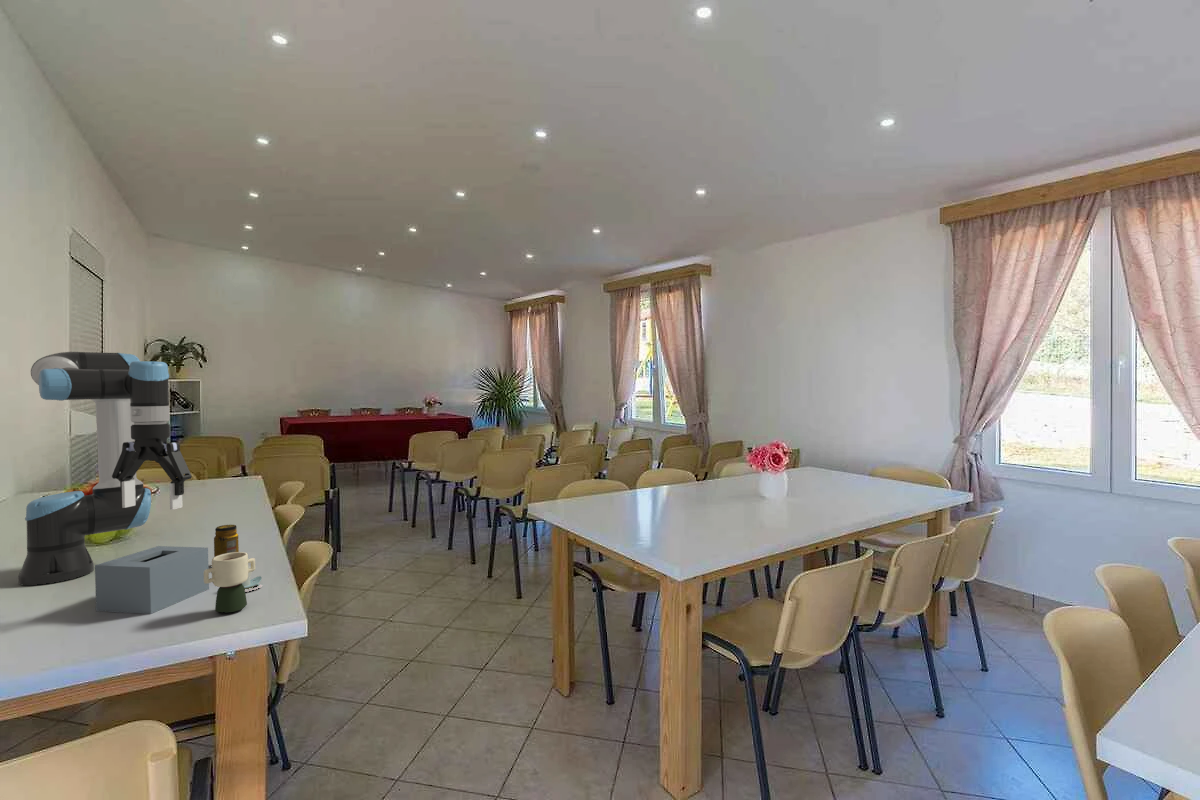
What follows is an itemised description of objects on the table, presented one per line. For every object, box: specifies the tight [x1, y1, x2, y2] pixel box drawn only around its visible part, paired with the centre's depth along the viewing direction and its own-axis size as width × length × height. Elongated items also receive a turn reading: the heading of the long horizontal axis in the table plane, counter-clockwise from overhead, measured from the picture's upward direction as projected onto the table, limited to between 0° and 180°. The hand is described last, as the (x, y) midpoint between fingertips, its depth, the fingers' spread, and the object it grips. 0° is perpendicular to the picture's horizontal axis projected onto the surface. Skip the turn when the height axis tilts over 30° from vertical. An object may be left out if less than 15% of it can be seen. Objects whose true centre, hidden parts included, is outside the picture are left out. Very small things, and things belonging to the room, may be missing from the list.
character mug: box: [204, 551, 256, 613], centre depth 129 cm, size 11×7×13 cm, turn 146°
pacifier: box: [242, 565, 263, 593], centre depth 143 cm, size 7×6×6 cm
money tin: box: [94, 545, 210, 615], centre depth 136 cm, size 15×16×11 cm
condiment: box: [210, 524, 240, 567], centre depth 162 cm, size 7×8×12 cm
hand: (152, 507), depth 136 cm, fingers open, 13 cm apart
